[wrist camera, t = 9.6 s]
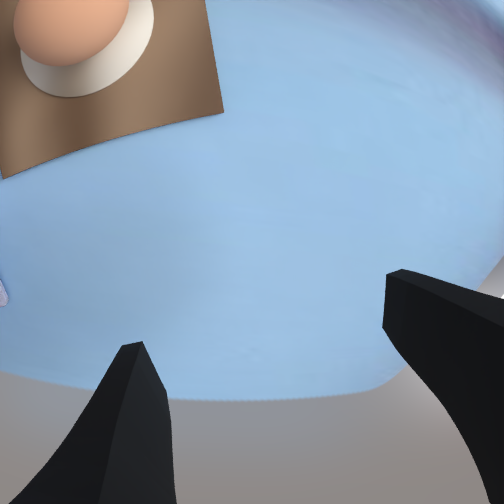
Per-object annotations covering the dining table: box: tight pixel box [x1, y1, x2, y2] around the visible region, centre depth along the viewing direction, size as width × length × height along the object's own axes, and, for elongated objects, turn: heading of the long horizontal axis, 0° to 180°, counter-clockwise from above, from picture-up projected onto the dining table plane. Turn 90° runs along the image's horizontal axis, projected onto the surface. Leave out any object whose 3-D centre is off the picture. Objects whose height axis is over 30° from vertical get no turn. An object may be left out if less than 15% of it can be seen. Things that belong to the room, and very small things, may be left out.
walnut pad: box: [0, 0, 224, 179], centre depth 11 cm, size 12×12×1 cm
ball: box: [13, 0, 129, 66], centre depth 8 cm, size 5×5×5 cm
